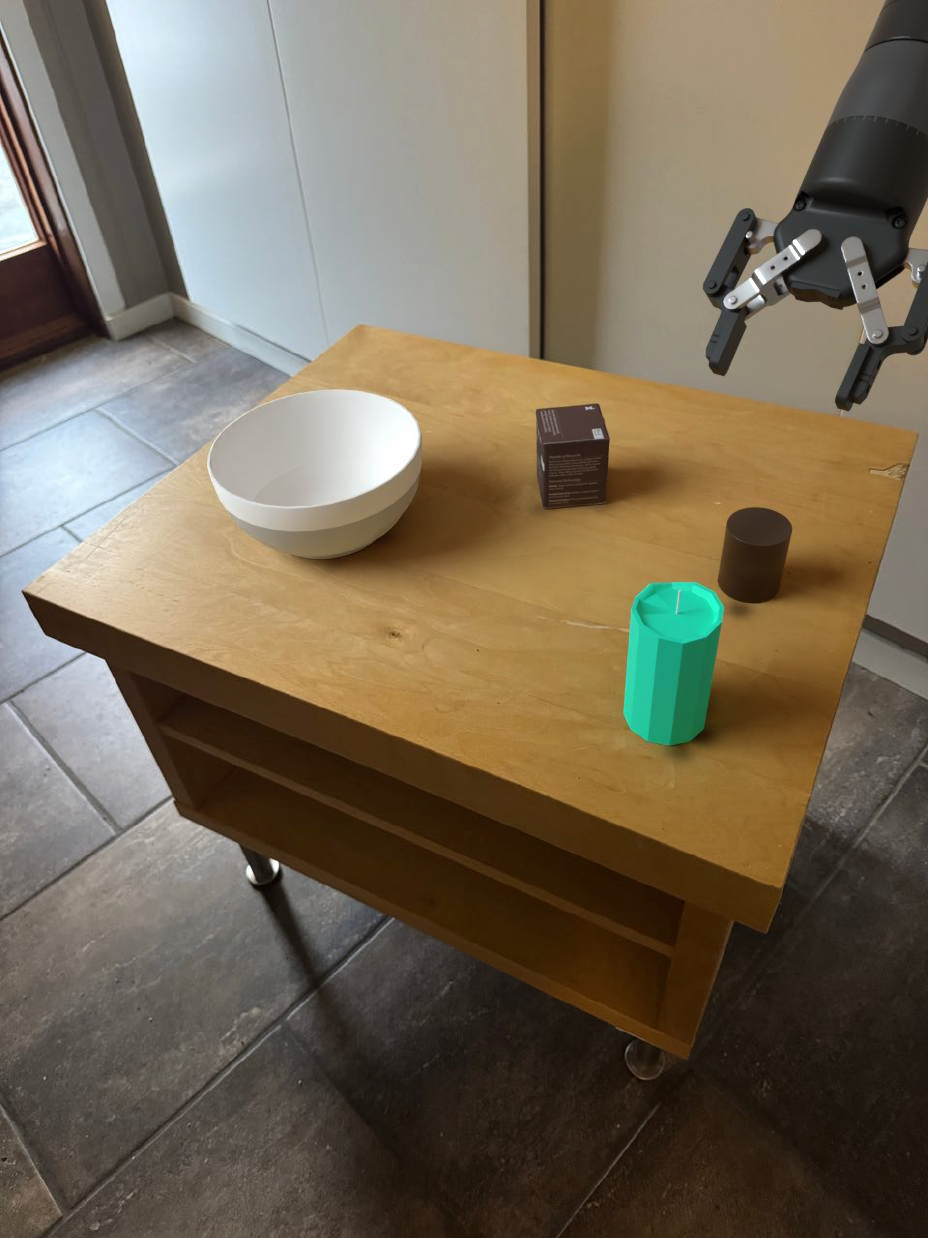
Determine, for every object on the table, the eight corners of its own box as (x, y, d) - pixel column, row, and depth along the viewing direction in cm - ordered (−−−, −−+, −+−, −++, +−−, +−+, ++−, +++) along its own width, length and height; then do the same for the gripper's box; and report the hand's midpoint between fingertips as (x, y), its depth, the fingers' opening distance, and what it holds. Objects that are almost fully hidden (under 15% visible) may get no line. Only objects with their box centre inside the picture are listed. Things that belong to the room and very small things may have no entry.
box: (536, 473, 91) (534, 407, 86) (597, 468, 91) (599, 401, 86) (543, 510, 87) (542, 443, 82) (607, 505, 87) (610, 437, 82)
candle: (719, 701, 68) (741, 578, 60) (687, 757, 65) (706, 635, 57) (644, 672, 71) (655, 550, 63) (609, 725, 68) (616, 603, 59)
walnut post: (792, 582, 77) (805, 524, 73) (756, 611, 75) (768, 554, 71) (741, 555, 80) (751, 499, 76) (705, 584, 78) (713, 527, 74)
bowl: (386, 605, 79) (372, 523, 73) (192, 570, 84) (164, 491, 78) (457, 479, 91) (450, 400, 85) (286, 455, 97) (268, 379, 91)
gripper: (765, 97, 59) (661, 341, 60) (1006, 126, 52) (883, 400, 54) (785, 160, 65) (691, 379, 67) (1002, 194, 59) (892, 436, 60)
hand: (777, 388), depth 60 cm, fingers open, 8 cm apart
